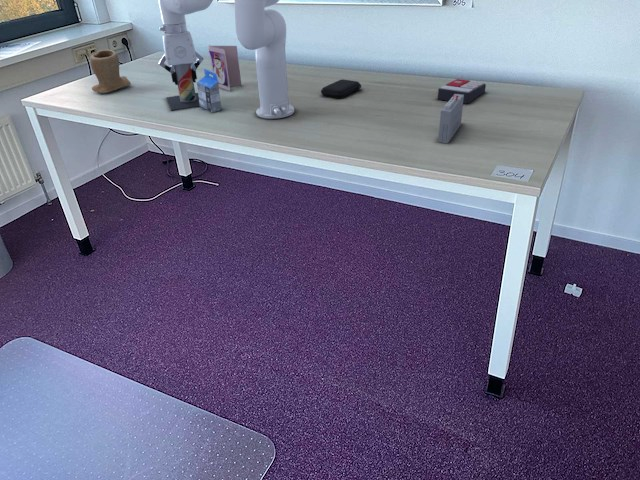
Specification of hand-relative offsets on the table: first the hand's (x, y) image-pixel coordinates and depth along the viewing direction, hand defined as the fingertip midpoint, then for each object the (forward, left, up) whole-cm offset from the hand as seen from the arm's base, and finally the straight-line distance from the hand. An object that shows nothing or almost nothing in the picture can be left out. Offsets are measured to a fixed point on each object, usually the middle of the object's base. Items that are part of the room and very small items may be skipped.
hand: (185, 82), depth 184 cm
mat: (0, 0, -7) cm, 7 cm away
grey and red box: (-40, -88, -7) cm, 97 cm away
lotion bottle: (0, 0, -7) cm, 7 cm away
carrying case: (-17, -53, -7) cm, 56 cm away
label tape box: (-12, -6, -7) cm, 15 cm away
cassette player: (-68, -66, -7) cm, 95 cm away
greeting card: (+12, -17, -7) cm, 22 cm away
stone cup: (+30, +25, -7) cm, 40 cm away
